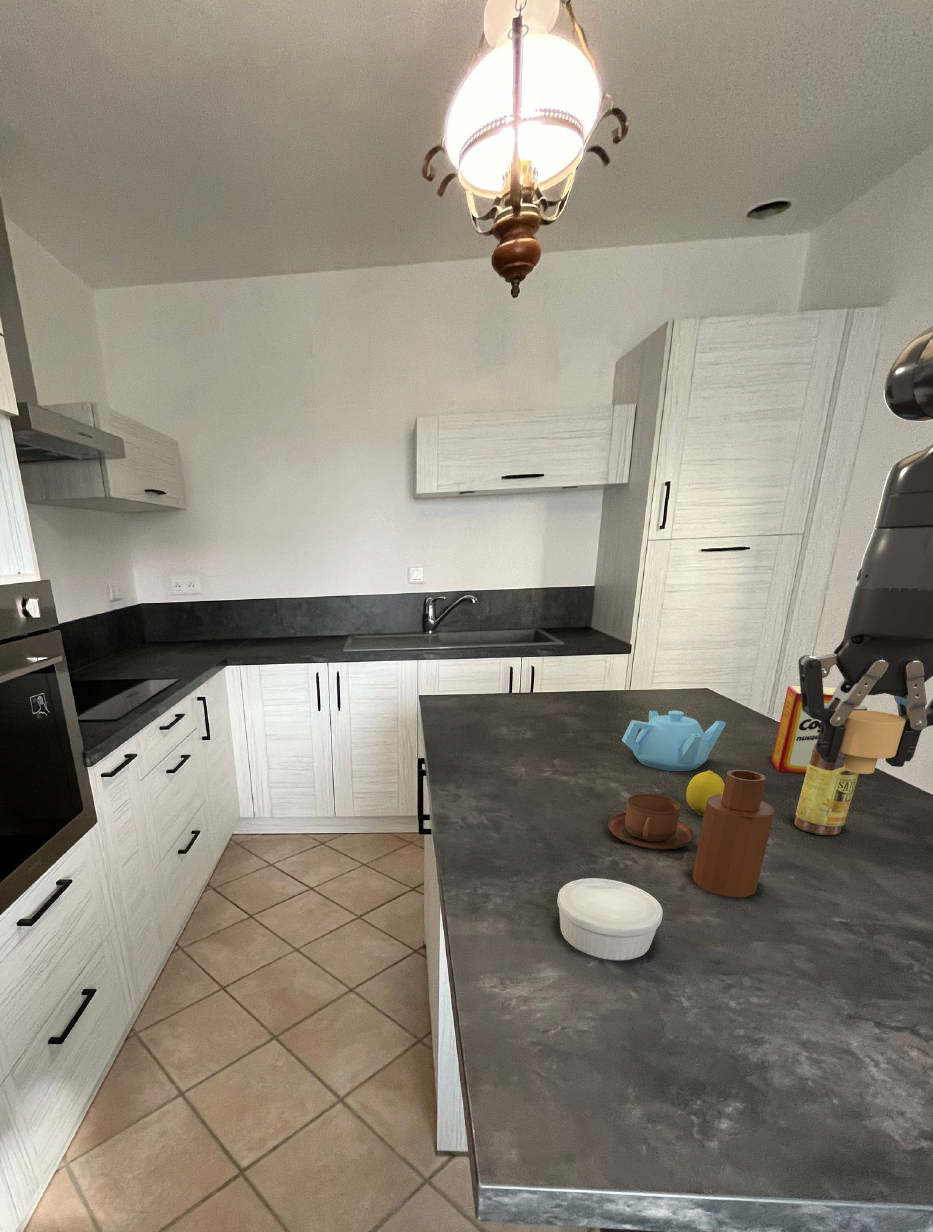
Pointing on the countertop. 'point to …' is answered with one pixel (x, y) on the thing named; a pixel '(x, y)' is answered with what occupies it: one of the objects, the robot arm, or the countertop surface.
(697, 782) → the lemon
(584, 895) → the ramekin
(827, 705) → the robot arm
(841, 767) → the sauce bottle
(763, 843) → the brown bottle
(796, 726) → the baking soda box
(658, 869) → the countertop surface
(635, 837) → the cup and saucer
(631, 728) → the teapot
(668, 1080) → the countertop surface
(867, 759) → the bung
